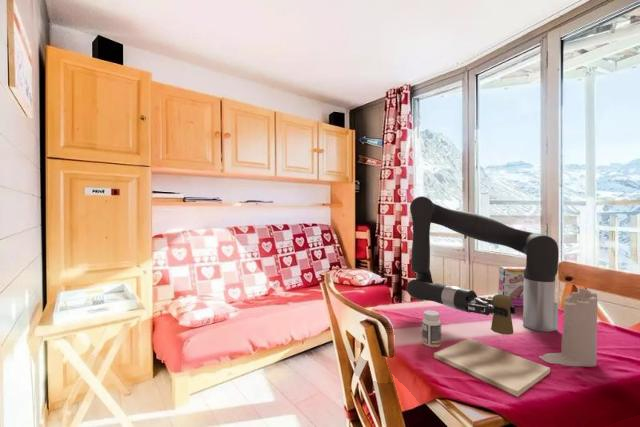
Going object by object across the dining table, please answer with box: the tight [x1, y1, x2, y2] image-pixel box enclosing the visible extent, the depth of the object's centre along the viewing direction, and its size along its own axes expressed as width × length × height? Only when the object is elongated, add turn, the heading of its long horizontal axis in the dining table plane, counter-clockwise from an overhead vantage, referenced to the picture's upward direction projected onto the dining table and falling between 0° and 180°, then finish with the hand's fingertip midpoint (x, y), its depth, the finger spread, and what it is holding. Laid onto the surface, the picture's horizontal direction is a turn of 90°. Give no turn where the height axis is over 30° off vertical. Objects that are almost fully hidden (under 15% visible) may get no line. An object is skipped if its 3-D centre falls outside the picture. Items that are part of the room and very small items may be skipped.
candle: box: [538, 287, 599, 368], centre depth 86 cm, size 7×14×20 cm, turn 88°
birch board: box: [433, 337, 551, 398], centre depth 84 cm, size 22×18×1 cm
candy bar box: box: [497, 266, 526, 307], centre depth 134 cm, size 11×5×16 cm, turn 84°
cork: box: [490, 294, 515, 336], centre depth 95 cm, size 6×6×11 cm
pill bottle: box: [421, 310, 442, 348], centre depth 97 cm, size 6×6×10 cm
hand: (511, 312), depth 92 cm, fingers closed on cork, 3 cm apart
